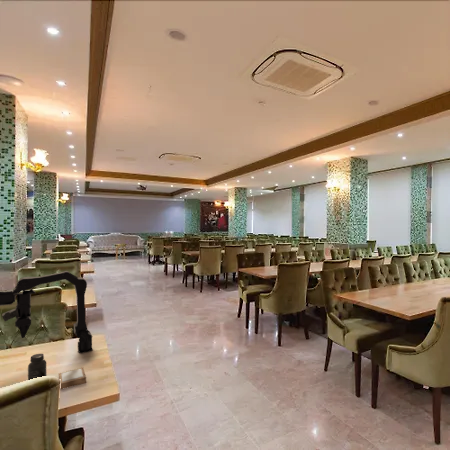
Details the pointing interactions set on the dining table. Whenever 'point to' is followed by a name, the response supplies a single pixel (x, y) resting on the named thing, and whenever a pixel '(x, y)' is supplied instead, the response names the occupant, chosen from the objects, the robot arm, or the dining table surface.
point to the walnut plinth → (72, 378)
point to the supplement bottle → (37, 366)
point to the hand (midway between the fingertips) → (23, 334)
